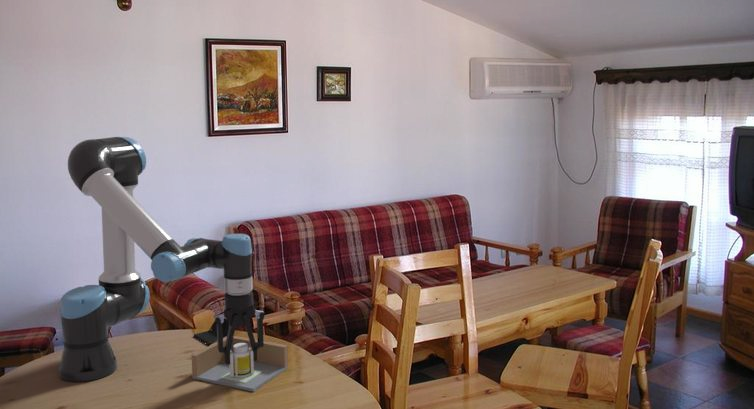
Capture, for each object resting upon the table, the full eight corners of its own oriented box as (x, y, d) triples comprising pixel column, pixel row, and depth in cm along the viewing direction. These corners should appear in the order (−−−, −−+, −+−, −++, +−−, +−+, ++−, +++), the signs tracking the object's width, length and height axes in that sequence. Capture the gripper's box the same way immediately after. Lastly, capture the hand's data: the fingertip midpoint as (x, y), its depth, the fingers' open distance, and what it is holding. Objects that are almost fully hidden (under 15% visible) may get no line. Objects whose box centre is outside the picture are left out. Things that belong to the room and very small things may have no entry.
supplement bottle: (254, 372, 193) (253, 343, 191) (243, 379, 189) (242, 349, 187) (240, 369, 195) (239, 341, 193) (229, 376, 191) (228, 346, 189)
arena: (192, 378, 191) (191, 355, 190) (229, 356, 207) (229, 334, 205) (253, 391, 183) (252, 367, 182) (287, 368, 198) (287, 345, 197)
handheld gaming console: (187, 333, 221) (205, 306, 224) (202, 341, 227) (219, 314, 229) (209, 347, 214) (227, 319, 217) (224, 355, 220) (241, 327, 222)
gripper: (206, 299, 181) (210, 383, 185) (274, 292, 187) (276, 374, 191) (203, 291, 188) (206, 372, 192) (268, 284, 194) (270, 363, 198)
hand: (241, 373), depth 192 cm, fingers closed on supplement bottle, 5 cm apart
